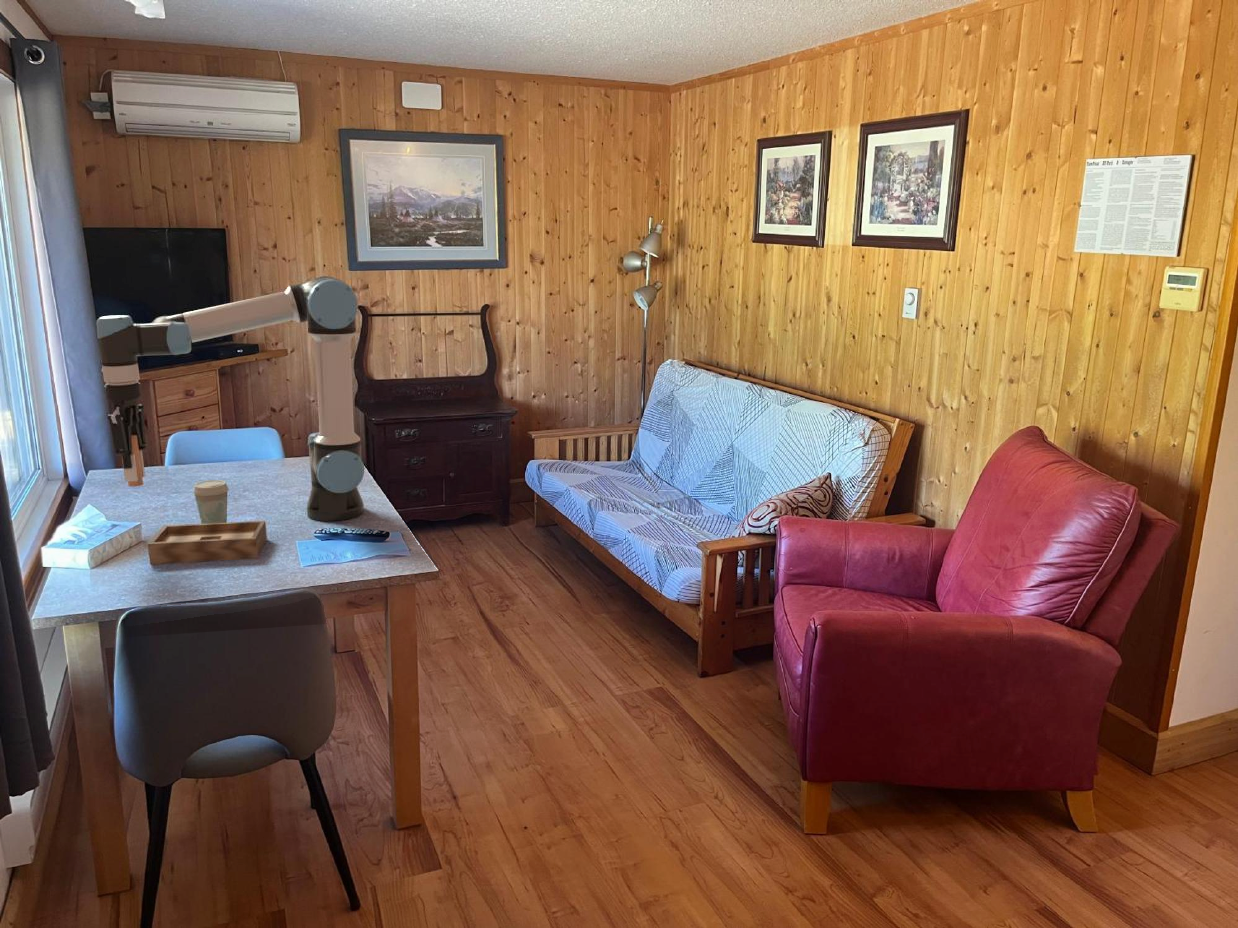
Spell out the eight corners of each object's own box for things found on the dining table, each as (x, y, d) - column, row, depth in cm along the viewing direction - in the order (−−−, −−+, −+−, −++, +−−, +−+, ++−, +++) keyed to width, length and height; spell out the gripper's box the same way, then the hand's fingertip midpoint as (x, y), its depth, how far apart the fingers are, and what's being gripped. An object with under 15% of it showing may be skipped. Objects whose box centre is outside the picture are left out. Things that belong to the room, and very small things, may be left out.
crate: (267, 539, 242) (265, 520, 241) (257, 558, 229) (255, 538, 227) (166, 544, 238) (163, 525, 236) (150, 564, 224) (147, 544, 223)
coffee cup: (194, 534, 246) (190, 489, 242) (199, 524, 253) (194, 480, 250) (230, 531, 248) (225, 487, 245) (234, 521, 256) (229, 478, 253)
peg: (145, 482, 231) (139, 434, 228) (139, 486, 228) (133, 437, 225) (132, 483, 231) (125, 434, 228) (126, 486, 228) (119, 437, 225)
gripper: (122, 376, 231) (134, 470, 237) (88, 388, 215) (102, 488, 221) (153, 376, 231) (165, 469, 237) (122, 388, 215) (135, 487, 221)
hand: (135, 478), depth 229 cm, fingers closed on peg, 3 cm apart
